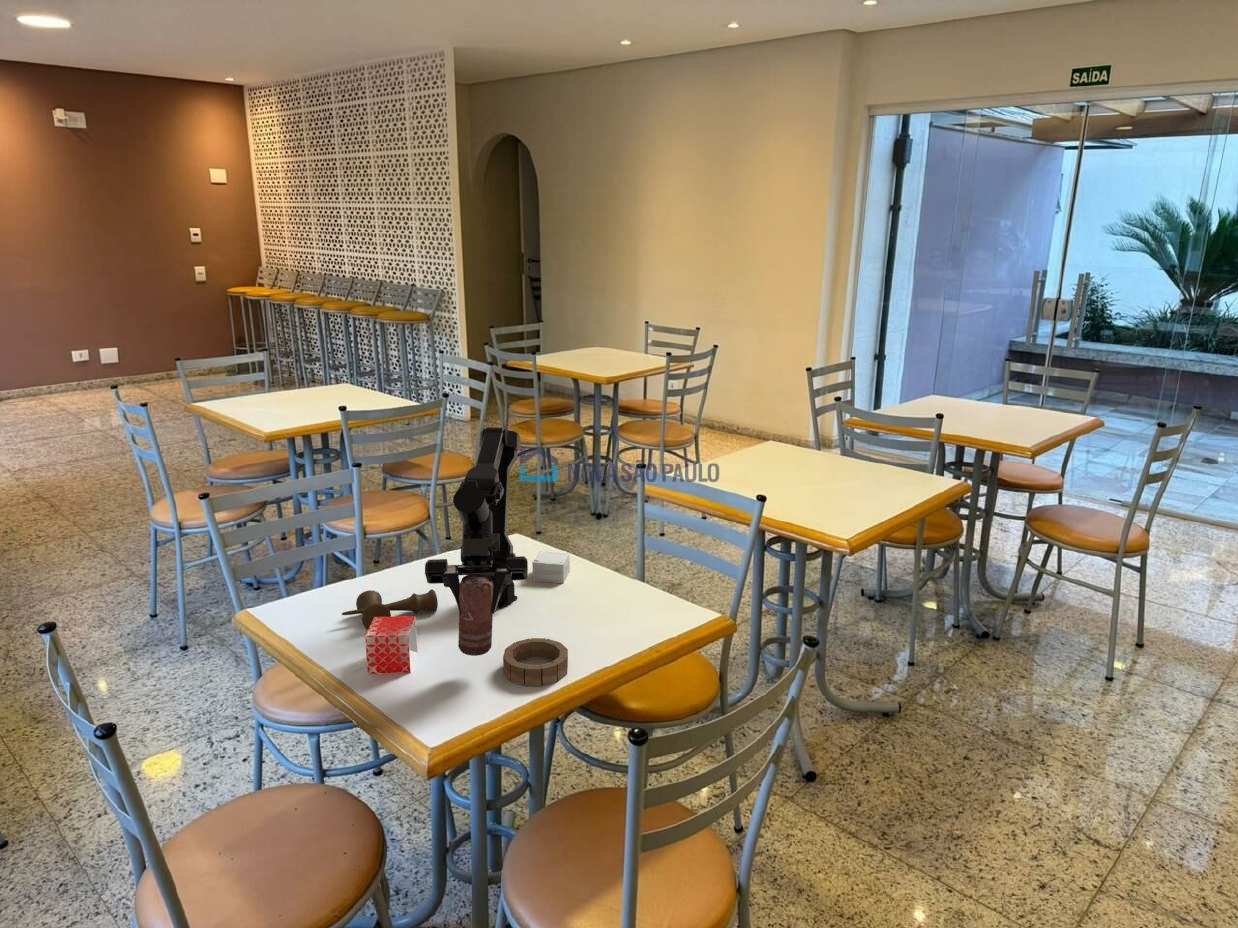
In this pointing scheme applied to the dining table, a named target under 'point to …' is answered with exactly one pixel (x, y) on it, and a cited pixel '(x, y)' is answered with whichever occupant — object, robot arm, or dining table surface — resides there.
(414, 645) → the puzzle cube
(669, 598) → the dining table surface
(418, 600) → the kendama
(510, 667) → the walnut ring
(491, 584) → the can
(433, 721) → the dining table surface
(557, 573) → the small box
